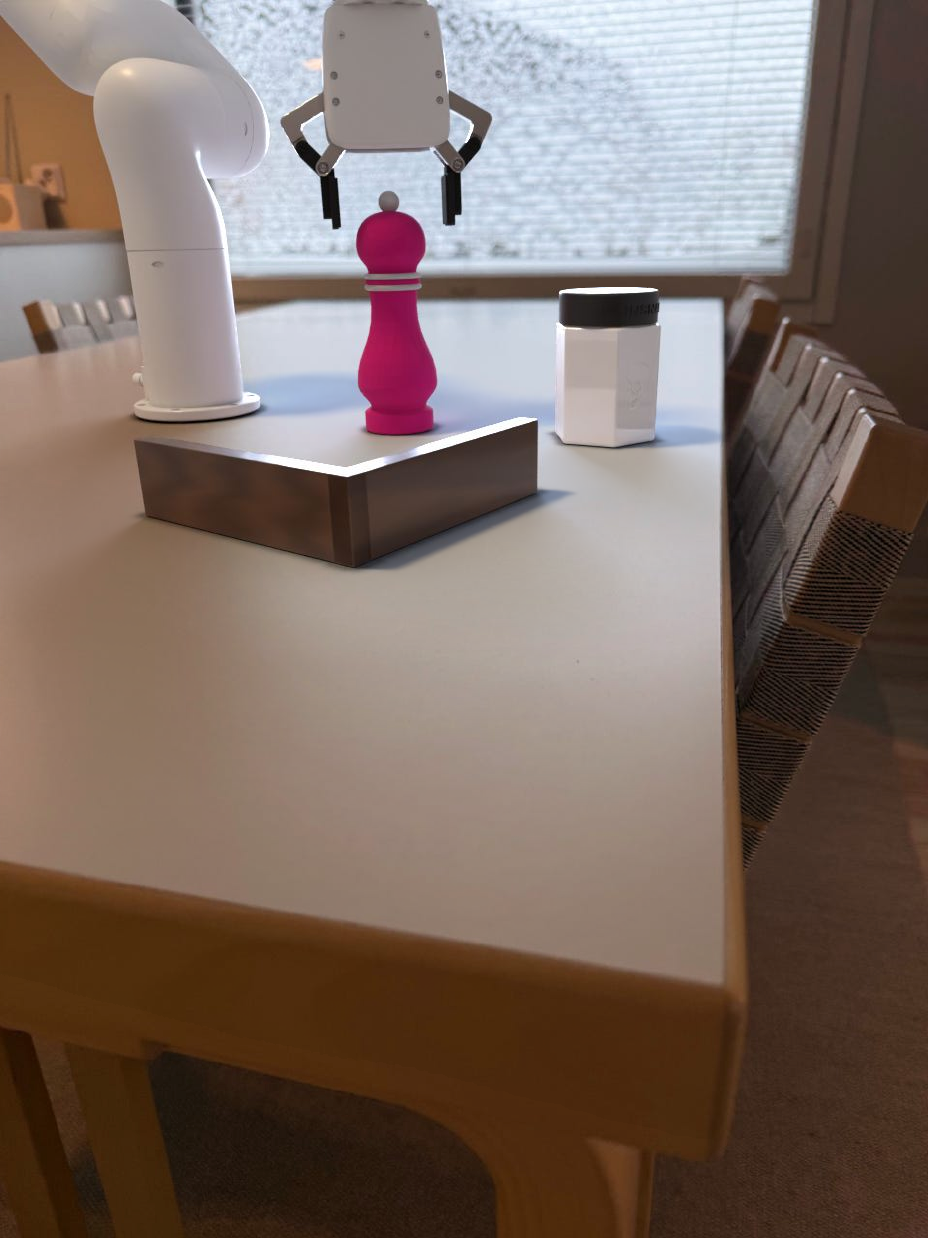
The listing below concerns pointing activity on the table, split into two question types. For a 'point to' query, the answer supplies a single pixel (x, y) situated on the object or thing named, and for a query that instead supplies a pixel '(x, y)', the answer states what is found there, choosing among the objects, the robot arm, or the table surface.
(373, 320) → the pepper mill
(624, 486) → the table surface
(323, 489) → the corner stop
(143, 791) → the table surface
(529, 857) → the table surface
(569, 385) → the jar
